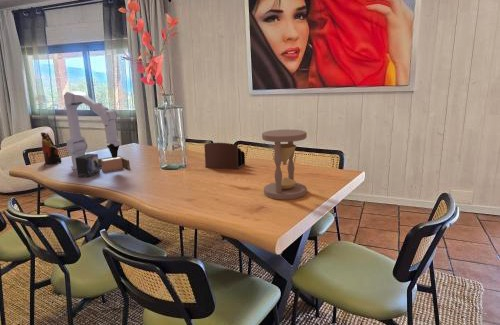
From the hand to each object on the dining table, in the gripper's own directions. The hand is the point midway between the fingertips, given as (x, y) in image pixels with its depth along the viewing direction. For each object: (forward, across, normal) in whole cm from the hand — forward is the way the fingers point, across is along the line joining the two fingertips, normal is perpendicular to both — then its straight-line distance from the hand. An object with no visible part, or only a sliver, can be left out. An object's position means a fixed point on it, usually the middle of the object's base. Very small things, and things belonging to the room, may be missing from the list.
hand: (114, 157), depth 186 cm
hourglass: (+8, -90, -41) cm, 100 cm away
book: (+8, +8, 0) cm, 11 cm away
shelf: (+8, +10, 0) cm, 12 cm away
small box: (+8, +4, +13) cm, 16 cm away
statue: (+8, +55, +23) cm, 60 cm away
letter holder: (+8, -35, -48) cm, 60 cm away
